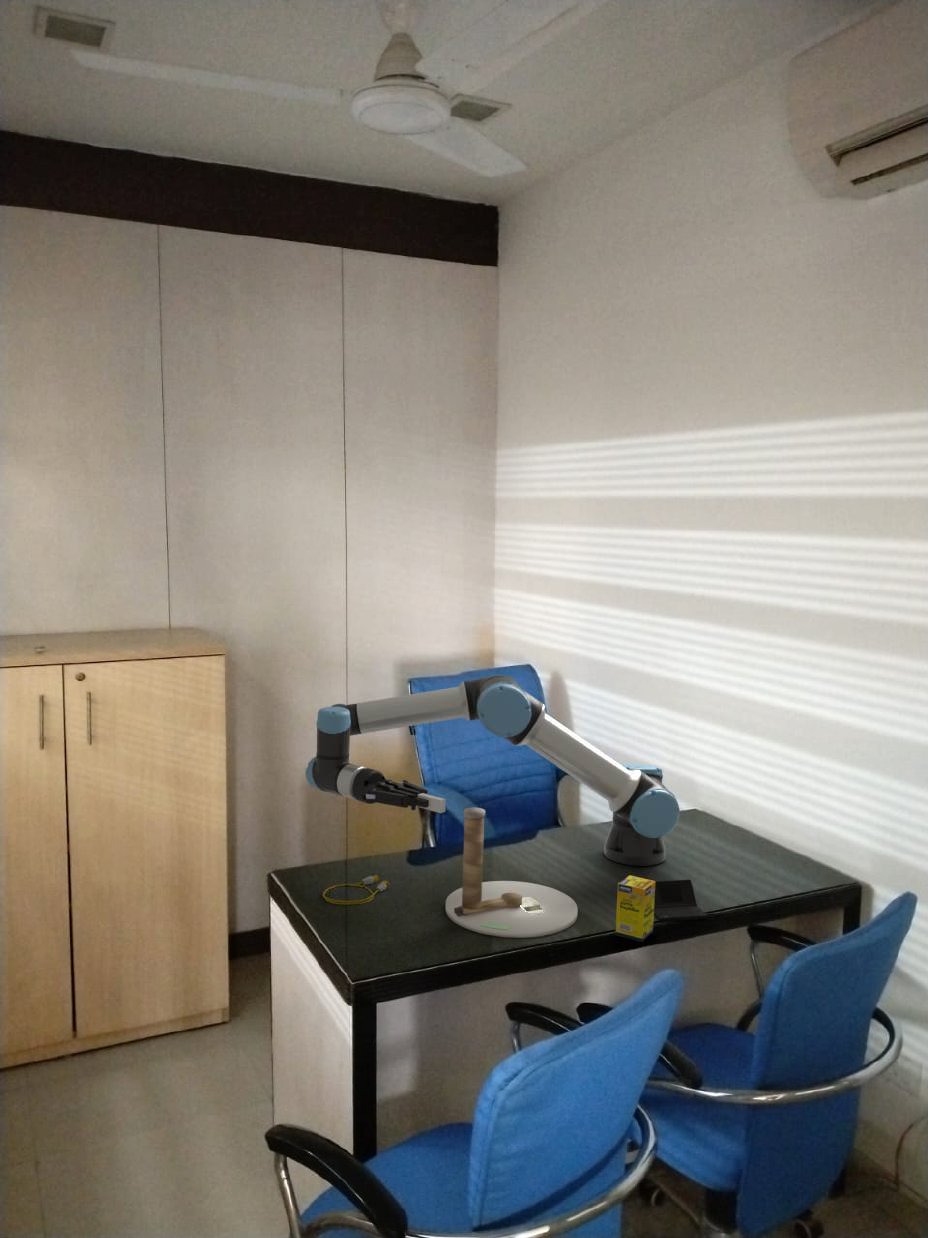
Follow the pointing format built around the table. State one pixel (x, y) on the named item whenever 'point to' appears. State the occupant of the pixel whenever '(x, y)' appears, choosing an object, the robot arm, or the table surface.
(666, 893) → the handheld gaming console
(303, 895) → the table surface
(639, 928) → the supplement box
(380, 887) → the extension cord
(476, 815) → the lever
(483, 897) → the dial plate
